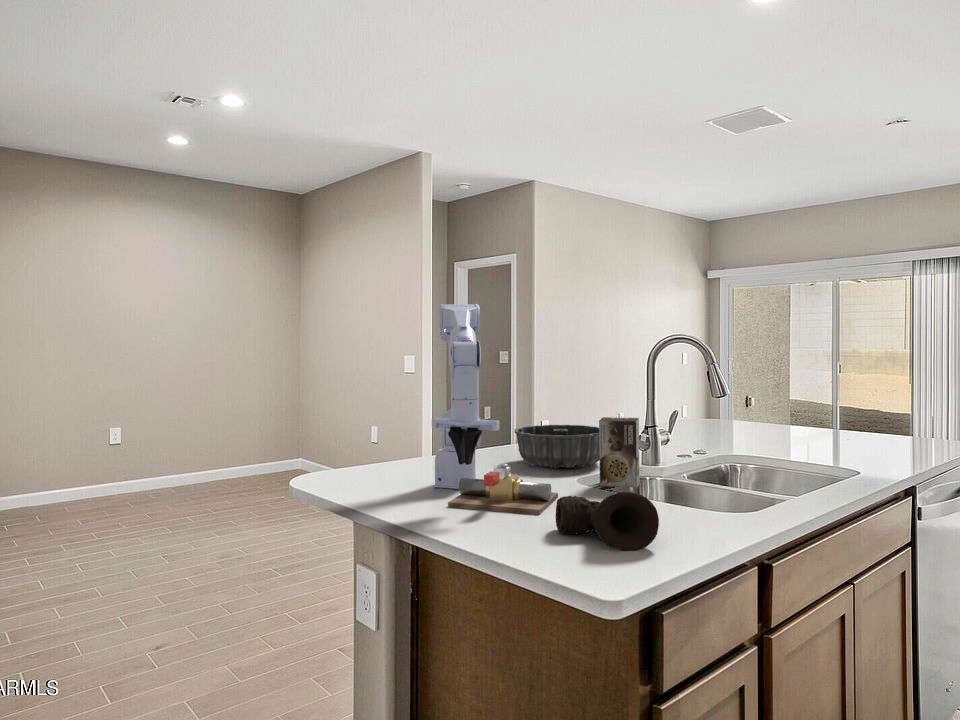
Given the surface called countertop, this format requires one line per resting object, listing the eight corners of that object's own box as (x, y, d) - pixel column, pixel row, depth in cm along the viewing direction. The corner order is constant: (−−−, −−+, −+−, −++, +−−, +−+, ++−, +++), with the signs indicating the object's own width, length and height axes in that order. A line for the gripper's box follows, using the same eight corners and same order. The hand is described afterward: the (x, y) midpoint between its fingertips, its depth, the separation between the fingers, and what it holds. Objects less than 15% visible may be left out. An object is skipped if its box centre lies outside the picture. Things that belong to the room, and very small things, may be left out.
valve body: (457, 498, 149) (457, 476, 149) (465, 493, 153) (465, 471, 153) (546, 505, 142) (546, 482, 142) (552, 500, 147) (552, 477, 146)
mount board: (448, 506, 144) (448, 502, 143) (474, 491, 159) (474, 486, 159) (539, 514, 137) (539, 509, 137) (558, 497, 152) (558, 492, 152)
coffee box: (640, 483, 166) (640, 417, 166) (637, 488, 160) (637, 420, 160) (602, 480, 169) (602, 416, 169) (598, 486, 163) (598, 419, 163)
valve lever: (500, 474, 149) (500, 463, 149) (511, 475, 148) (511, 463, 148) (482, 485, 138) (482, 473, 138) (494, 486, 137) (494, 473, 137)
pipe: (554, 486, 128) (572, 489, 113) (632, 489, 129) (659, 493, 115) (553, 539, 127) (571, 549, 112) (631, 542, 128) (659, 552, 113)
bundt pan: (507, 457, 205) (507, 424, 205) (592, 454, 208) (592, 422, 208) (523, 474, 179) (522, 436, 178) (620, 471, 182) (619, 434, 181)
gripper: (425, 399, 140) (425, 465, 141) (491, 401, 135) (491, 469, 136) (438, 396, 147) (439, 459, 147) (502, 398, 142) (502, 463, 142)
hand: (465, 463), depth 142 cm, fingers closed
